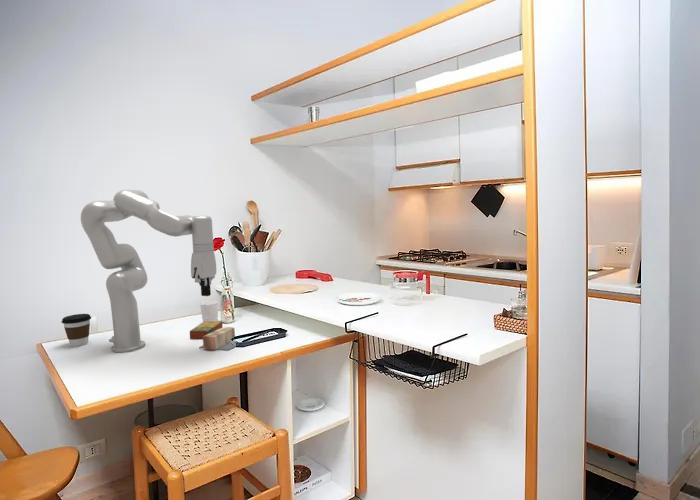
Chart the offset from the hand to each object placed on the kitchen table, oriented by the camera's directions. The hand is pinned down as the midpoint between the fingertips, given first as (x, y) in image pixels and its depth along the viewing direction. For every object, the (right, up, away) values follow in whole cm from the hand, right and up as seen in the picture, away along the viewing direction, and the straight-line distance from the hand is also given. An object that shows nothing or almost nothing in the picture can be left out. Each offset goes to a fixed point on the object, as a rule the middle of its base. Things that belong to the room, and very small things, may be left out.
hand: (206, 295), depth 183 cm
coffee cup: (-59, -23, +18) cm, 66 cm away
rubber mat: (+5, -20, +9) cm, 23 cm away
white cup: (-11, -18, +43) cm, 48 cm away
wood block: (+1, -19, 0) cm, 19 cm away
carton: (-7, -20, +25) cm, 32 cm away
